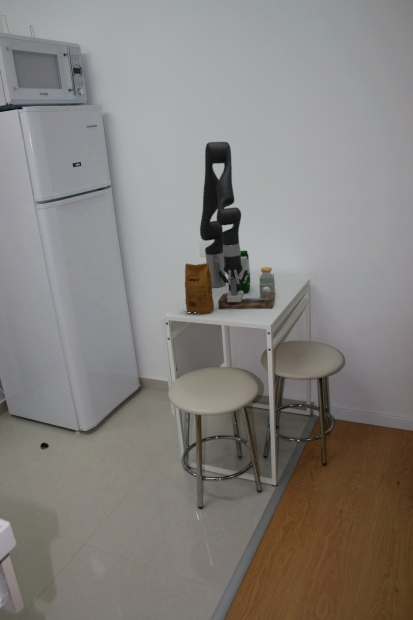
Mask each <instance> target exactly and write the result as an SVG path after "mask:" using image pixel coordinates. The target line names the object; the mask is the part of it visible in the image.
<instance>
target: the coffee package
mask: <svg viewBox="0 0 413 620" xmlns="http://www.w3.org/2000/svg"><path fill="white" fill-rule="evenodd" d="M184 265H185V267H184V270H185V271H184V288H185V289H184V291H185V304H186V305H185V306H186V312H196V313H207V314H211V313H212V311H213V309H215V304H214V297H213V287H212V279H211V275H210V270H209V264H208V263H206V262H204V263H200V264H192V263H185V264H184ZM210 312H211V313H210ZM196 313H195V314H196Z"/></svg>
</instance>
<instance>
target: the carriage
mask: <svg viewBox="0 0 413 620" xmlns="http://www.w3.org/2000/svg"><path fill="white" fill-rule="evenodd" d="M230 286H231V292H230V291H229V293H227V294H228V296H227V302H241V300H242V299H244V294H245V293H243V291H239V292H237V281H236V279H233V280H232V281H231V283H230Z"/></svg>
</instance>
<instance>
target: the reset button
mask: <svg viewBox="0 0 413 620" xmlns="http://www.w3.org/2000/svg"><path fill="white" fill-rule="evenodd" d="M260 270H261V273H262V274H261V275H262V276H263V277H271V274H272V270H273V269H272V267H269V266H268V267H267V266H266V267H262V268H260Z"/></svg>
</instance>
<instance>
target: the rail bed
mask: <svg viewBox="0 0 413 620" xmlns="http://www.w3.org/2000/svg"><path fill="white" fill-rule="evenodd" d="M228 294H229V293H222V294H221V295H220V297H219V298H218V300H217V302H218V303H217V304H218V310H240V309H241V310H243V309H244V310H247V309H248V310H249V309H250V310H253V309H256V310H257V309H258V310H259V309H260V310H261V309H273V308H274V305H275V302H276V299H275V298H276V297H275V296H276V293H275V294H274V293H268V294H267V296H266V298H260V297H259V298H258V297H257V298H255V297H254V298H253V297H251V298H247V297H246V298H242V300H241V302H227V296H228Z"/></svg>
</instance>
